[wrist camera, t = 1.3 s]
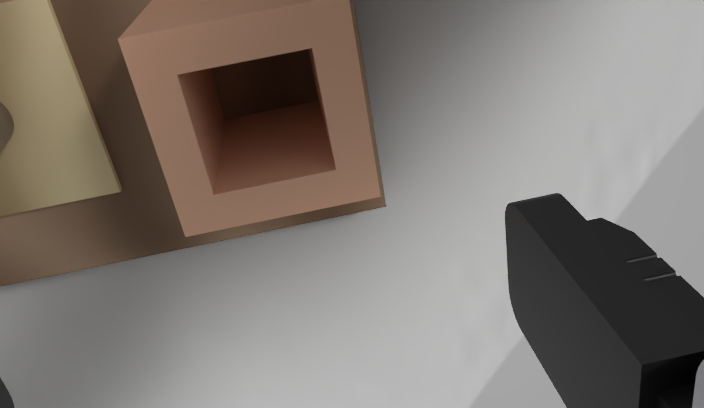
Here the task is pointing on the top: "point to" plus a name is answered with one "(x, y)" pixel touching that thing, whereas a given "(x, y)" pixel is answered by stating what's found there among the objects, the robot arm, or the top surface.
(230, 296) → the top surface
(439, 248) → the top surface
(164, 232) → the post board
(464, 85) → the top surface
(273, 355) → the top surface
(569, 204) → the robot arm
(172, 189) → the sleeve
